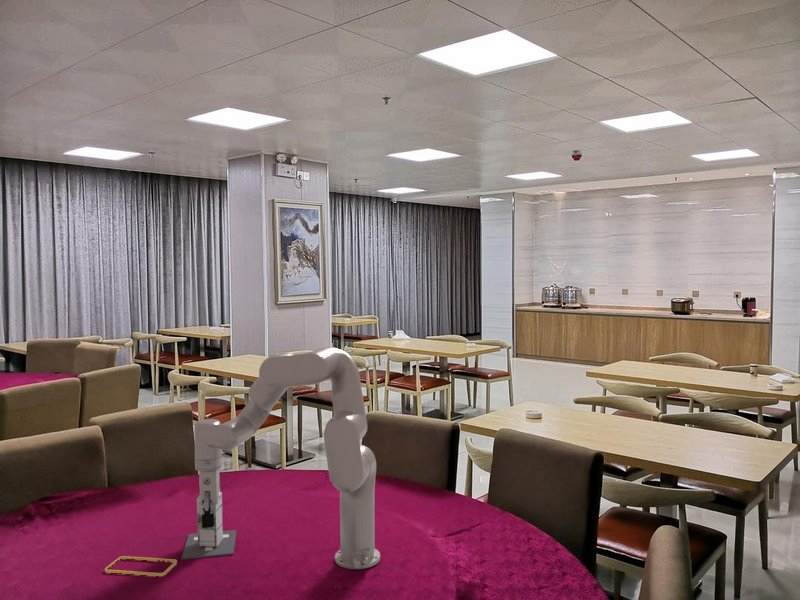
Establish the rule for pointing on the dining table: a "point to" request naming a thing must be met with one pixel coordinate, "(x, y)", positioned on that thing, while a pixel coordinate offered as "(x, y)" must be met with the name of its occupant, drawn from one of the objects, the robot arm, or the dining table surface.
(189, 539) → the letter mat
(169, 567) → the phone case
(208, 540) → the syrup box
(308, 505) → the dining table surface
